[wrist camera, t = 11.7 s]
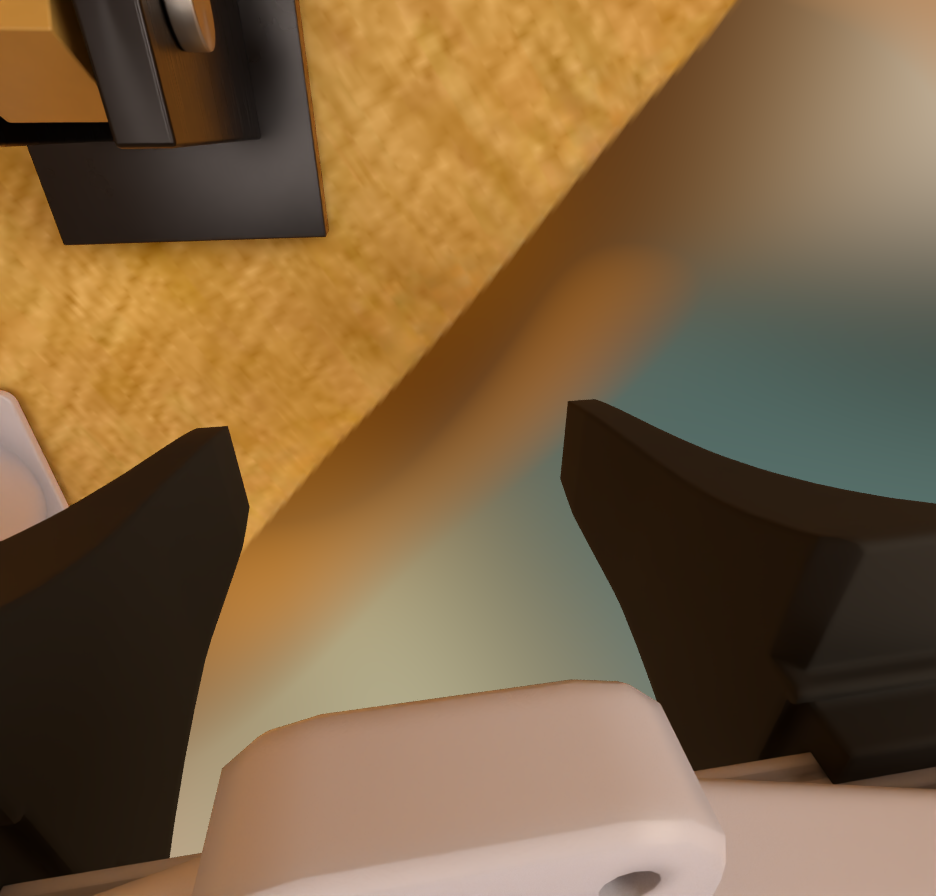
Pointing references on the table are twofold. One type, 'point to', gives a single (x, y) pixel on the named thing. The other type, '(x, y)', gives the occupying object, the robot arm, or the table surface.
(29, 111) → the switch lever
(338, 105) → the table surface
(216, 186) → the switch bracket
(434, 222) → the table surface
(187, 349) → the table surface
